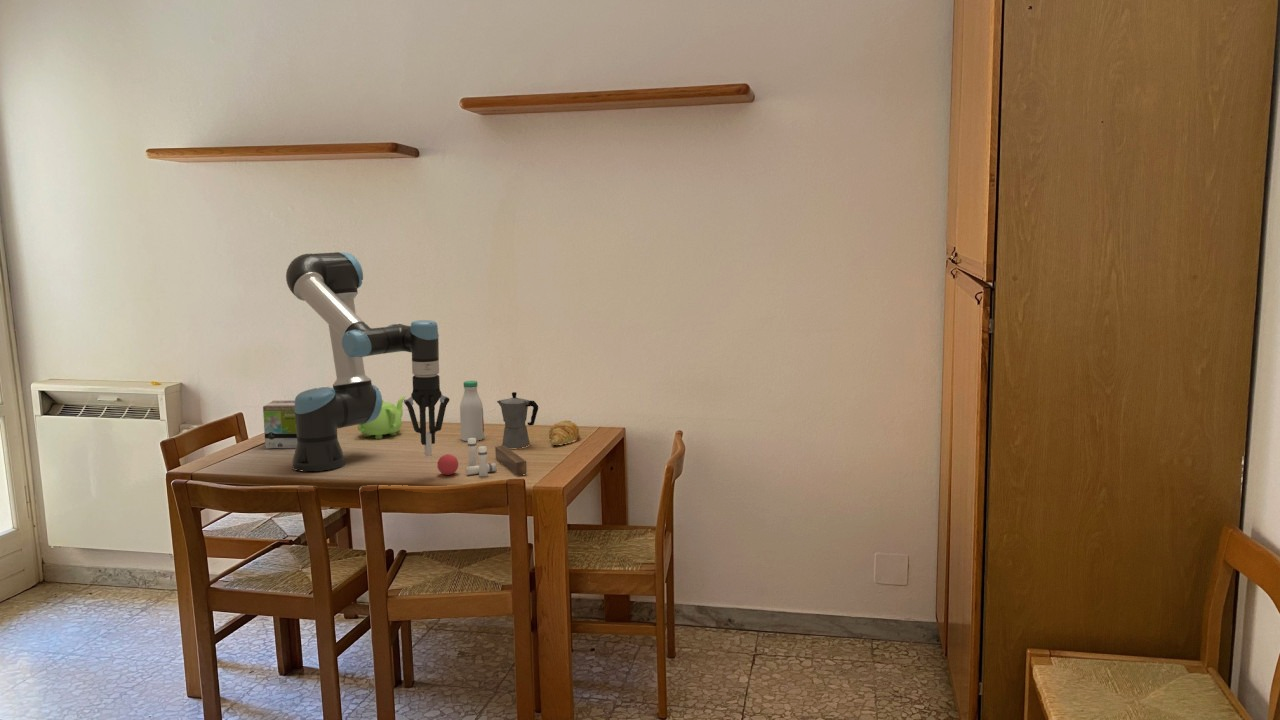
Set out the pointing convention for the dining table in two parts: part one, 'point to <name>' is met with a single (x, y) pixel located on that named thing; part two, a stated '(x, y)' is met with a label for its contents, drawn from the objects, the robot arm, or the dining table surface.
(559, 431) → the croissant
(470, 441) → the pin
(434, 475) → the dining table surface
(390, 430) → the green lumpy piece
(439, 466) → the ball
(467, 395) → the milk bottle
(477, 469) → the front pin
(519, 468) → the brown long rectangular bar
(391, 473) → the dining table surface
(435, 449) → the dining table surface
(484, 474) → the pin
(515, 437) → the coffeepot
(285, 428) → the tea box
